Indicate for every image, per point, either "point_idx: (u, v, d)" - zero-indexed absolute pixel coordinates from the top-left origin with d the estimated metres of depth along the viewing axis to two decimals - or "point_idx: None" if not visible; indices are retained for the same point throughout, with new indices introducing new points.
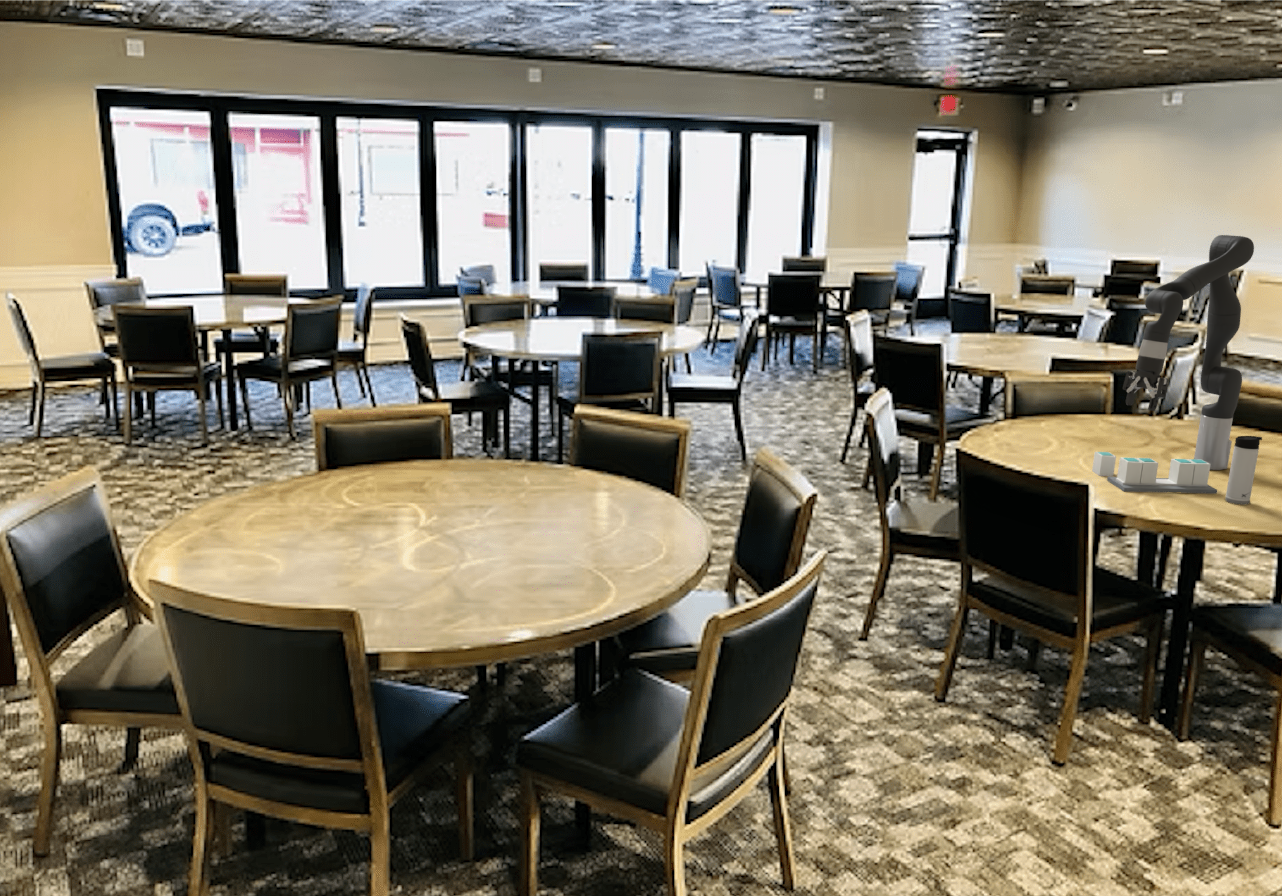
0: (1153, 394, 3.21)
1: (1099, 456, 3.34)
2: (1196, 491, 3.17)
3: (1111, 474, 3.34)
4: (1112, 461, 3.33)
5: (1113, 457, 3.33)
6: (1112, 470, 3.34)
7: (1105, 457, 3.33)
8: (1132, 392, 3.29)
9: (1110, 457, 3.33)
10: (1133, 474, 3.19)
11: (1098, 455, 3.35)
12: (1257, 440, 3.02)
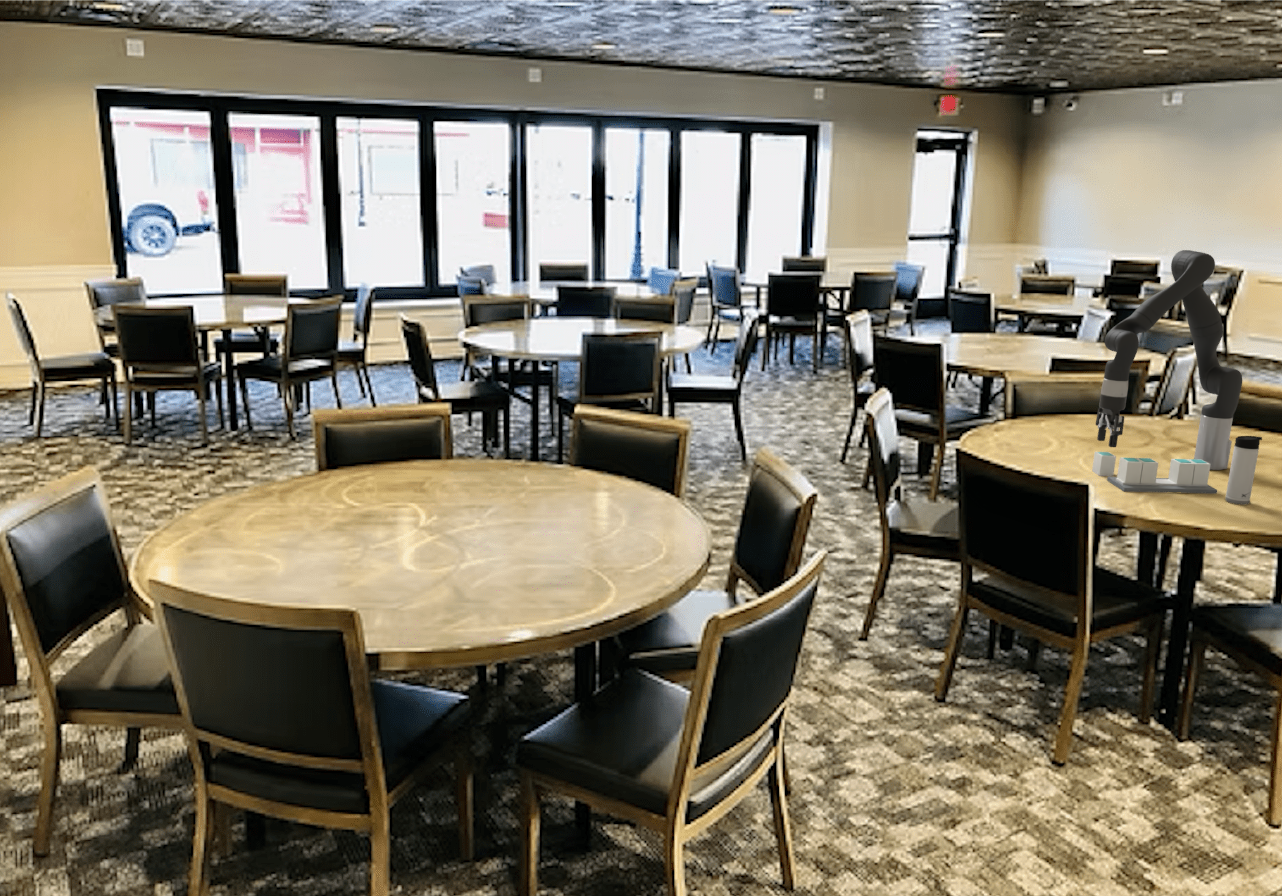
0: (1111, 431, 3.28)
1: (1099, 456, 3.34)
2: (1196, 491, 3.17)
3: (1111, 474, 3.34)
4: (1112, 461, 3.33)
5: (1113, 457, 3.33)
6: (1112, 470, 3.34)
7: (1105, 457, 3.33)
8: (1103, 428, 3.37)
9: (1110, 457, 3.33)
10: (1133, 474, 3.19)
11: (1098, 455, 3.35)
12: (1257, 440, 3.02)
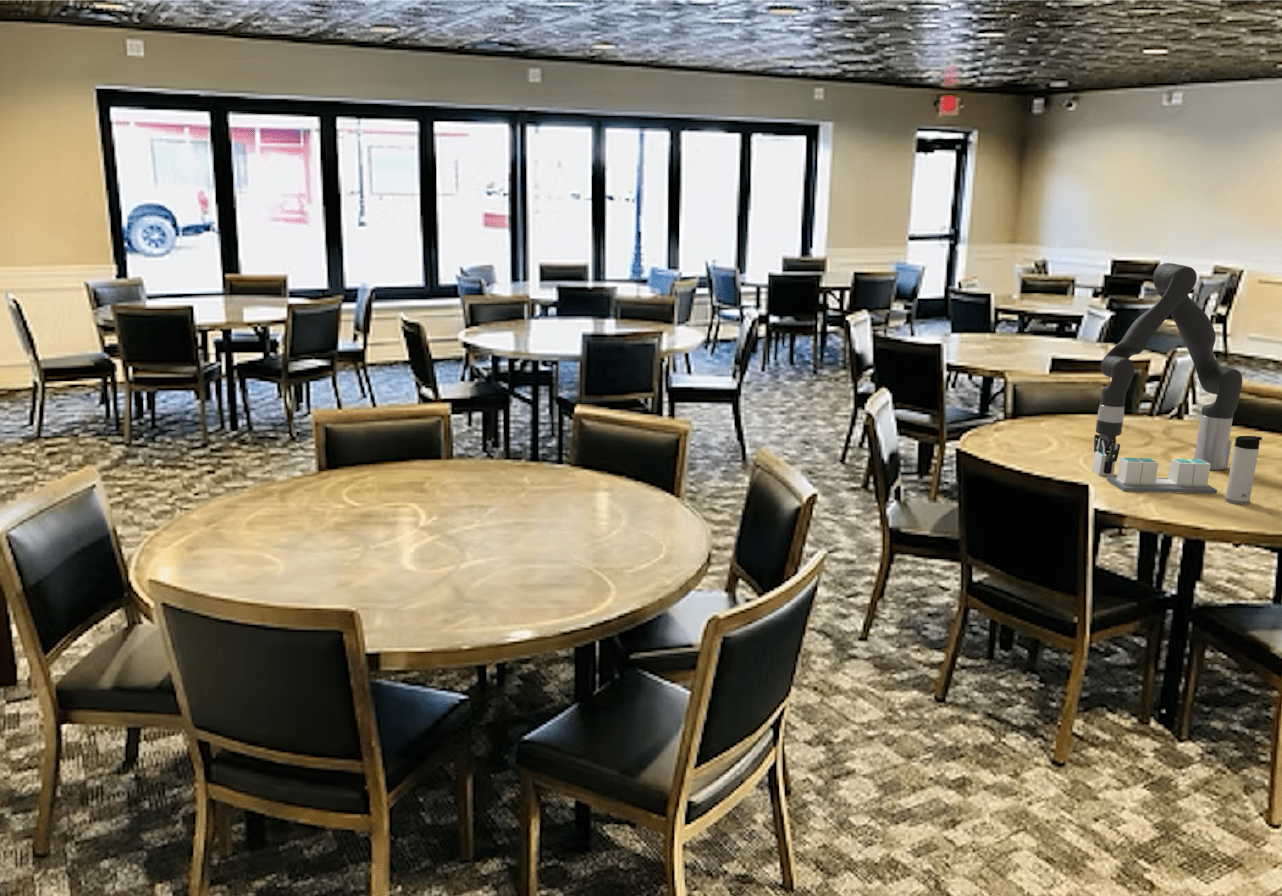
0: (1106, 458, 3.32)
1: (1099, 456, 3.34)
2: (1196, 491, 3.17)
3: (1111, 474, 3.34)
4: None
5: None
6: (1112, 470, 3.33)
7: None
8: None
9: None
10: (1133, 474, 3.19)
11: (1098, 455, 3.35)
12: (1257, 440, 3.02)
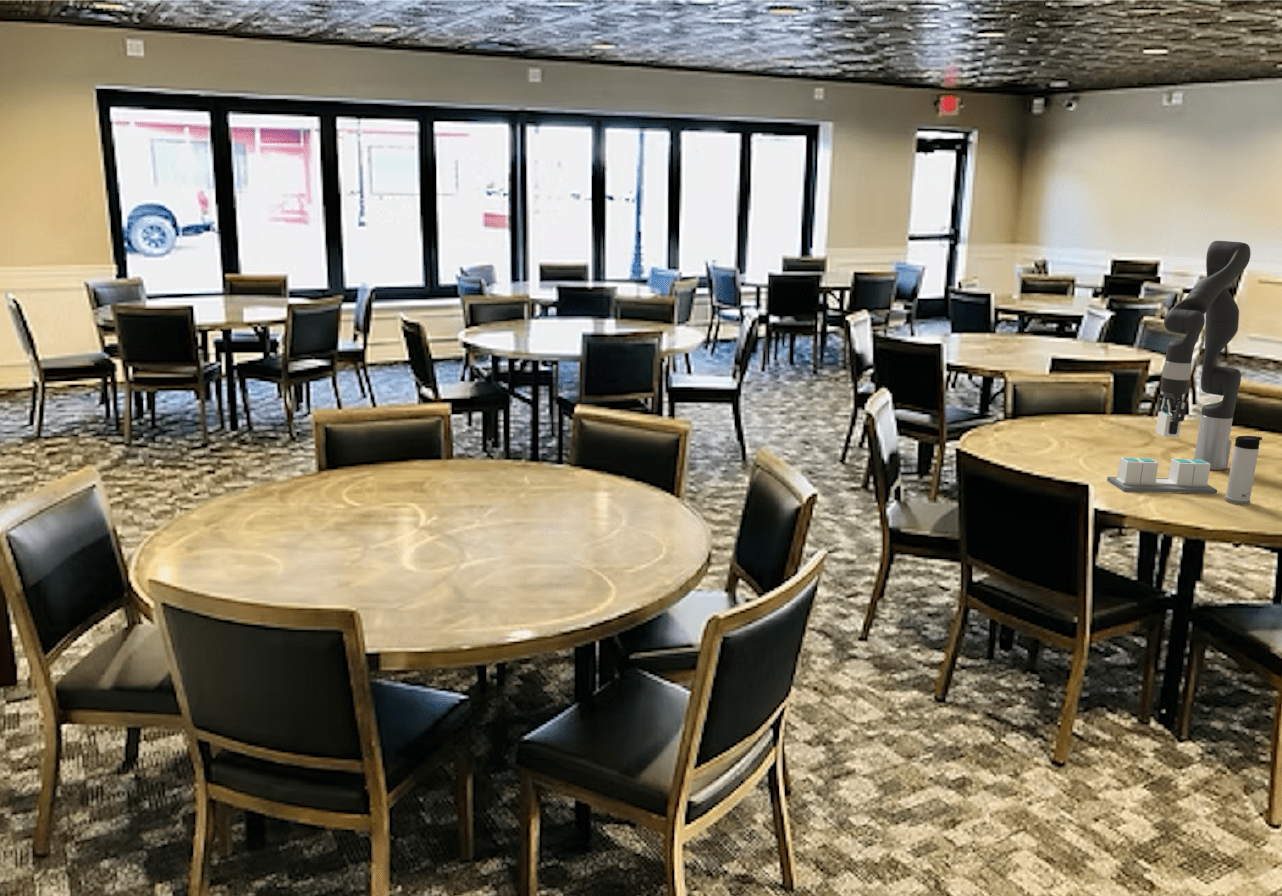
0: (1171, 418, 3.14)
1: (1164, 416, 3.17)
2: (1196, 491, 3.17)
3: (1176, 435, 3.17)
4: None
5: None
6: (1178, 430, 3.16)
7: None
8: None
9: None
10: (1133, 474, 3.19)
11: (1162, 415, 3.18)
12: (1257, 440, 3.02)
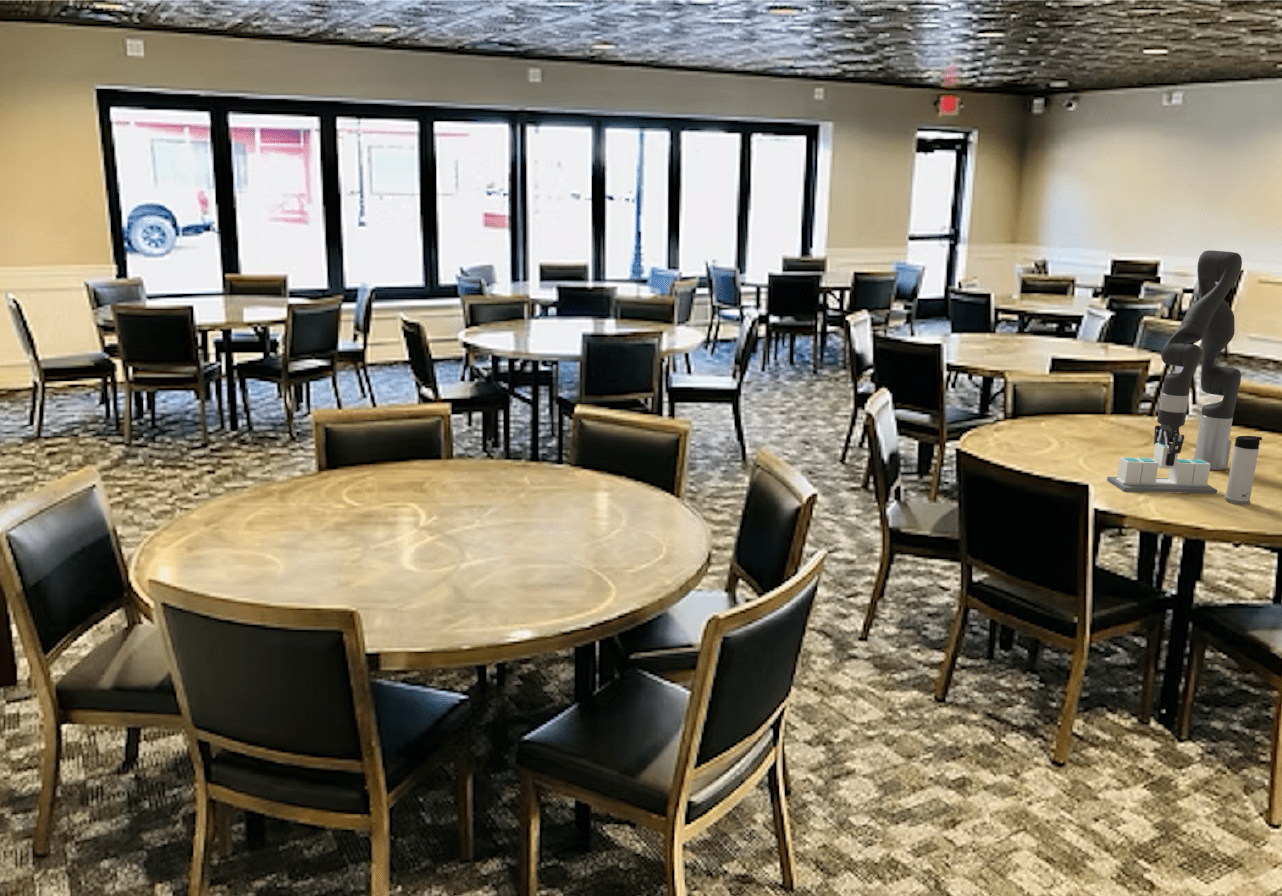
0: (1168, 450, 3.16)
1: (1161, 447, 3.19)
2: (1196, 491, 3.17)
3: (1173, 466, 3.19)
4: None
5: None
6: (1174, 462, 3.18)
7: None
8: None
9: None
10: (1133, 474, 3.19)
11: (1159, 446, 3.20)
12: (1257, 440, 3.02)
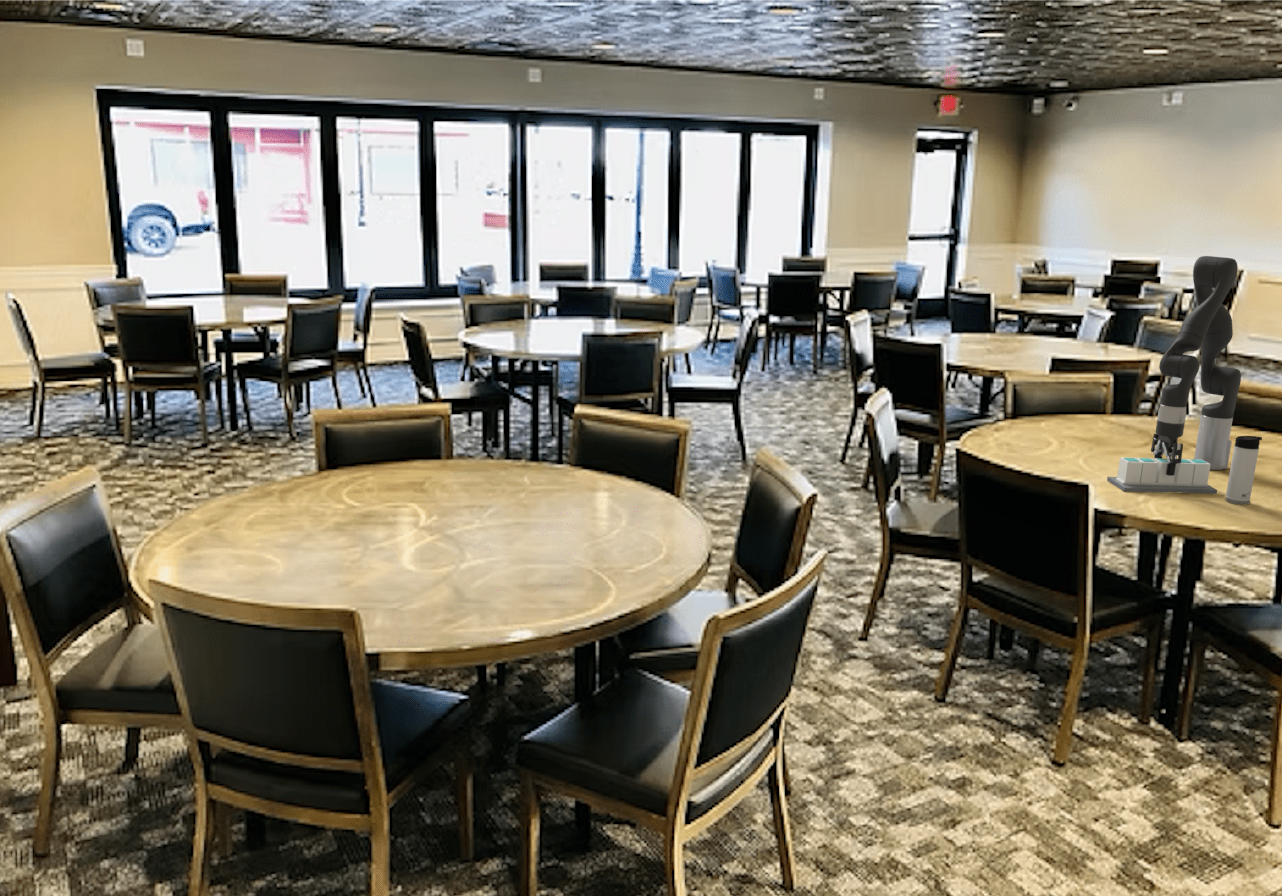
0: (1169, 459, 3.16)
1: (1158, 463, 3.20)
2: (1196, 491, 3.17)
3: (1171, 482, 3.20)
4: None
5: None
6: (1172, 477, 3.20)
7: (1165, 464, 3.19)
8: (1159, 455, 3.25)
9: None
10: (1133, 474, 3.19)
11: None
12: (1257, 440, 3.02)
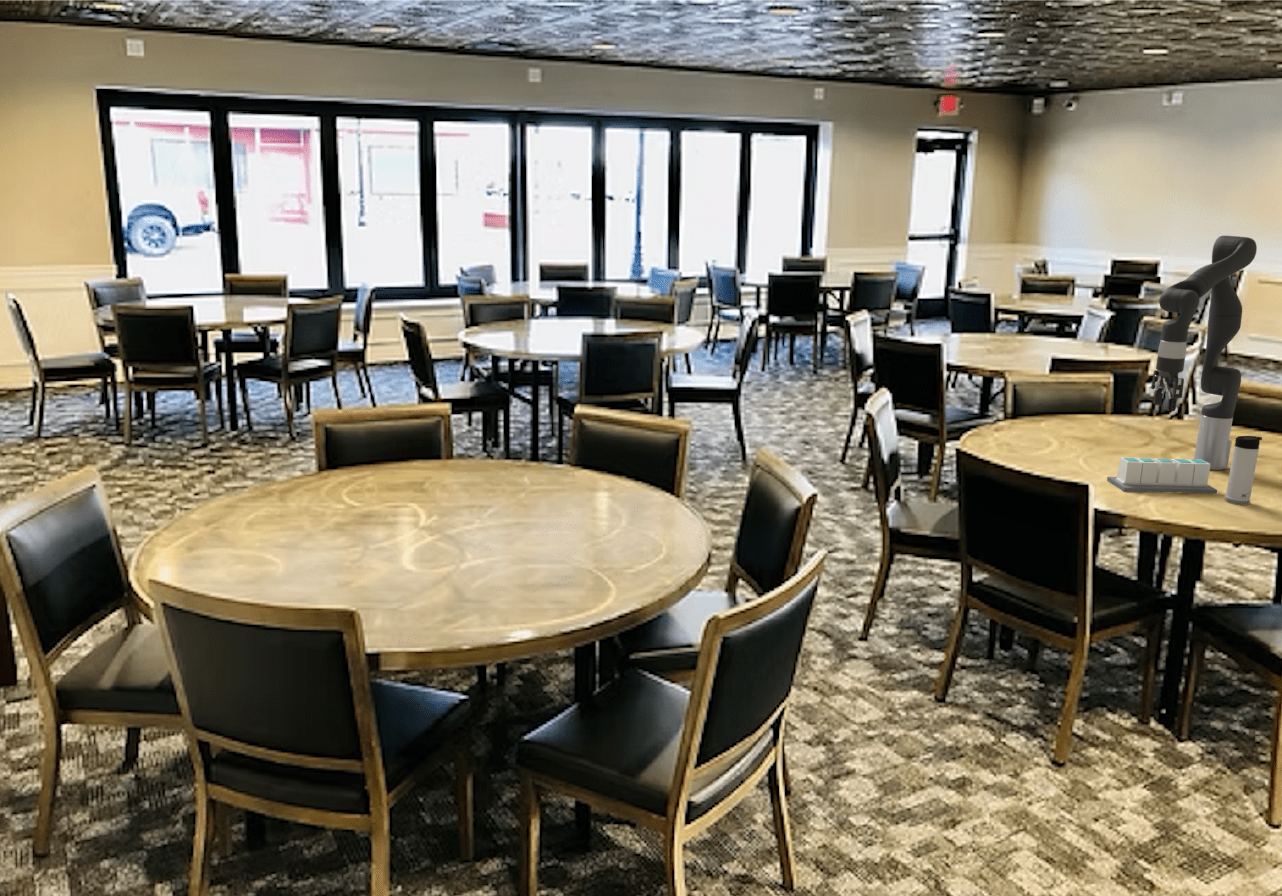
0: (1170, 395, 3.17)
1: (1158, 463, 3.20)
2: (1196, 491, 3.17)
3: (1171, 482, 3.20)
4: (1172, 468, 3.19)
5: (1173, 464, 3.19)
6: (1172, 477, 3.20)
7: (1165, 464, 3.19)
8: (1159, 391, 3.26)
9: (1170, 464, 3.19)
10: (1133, 474, 3.19)
11: None
12: (1257, 440, 3.02)
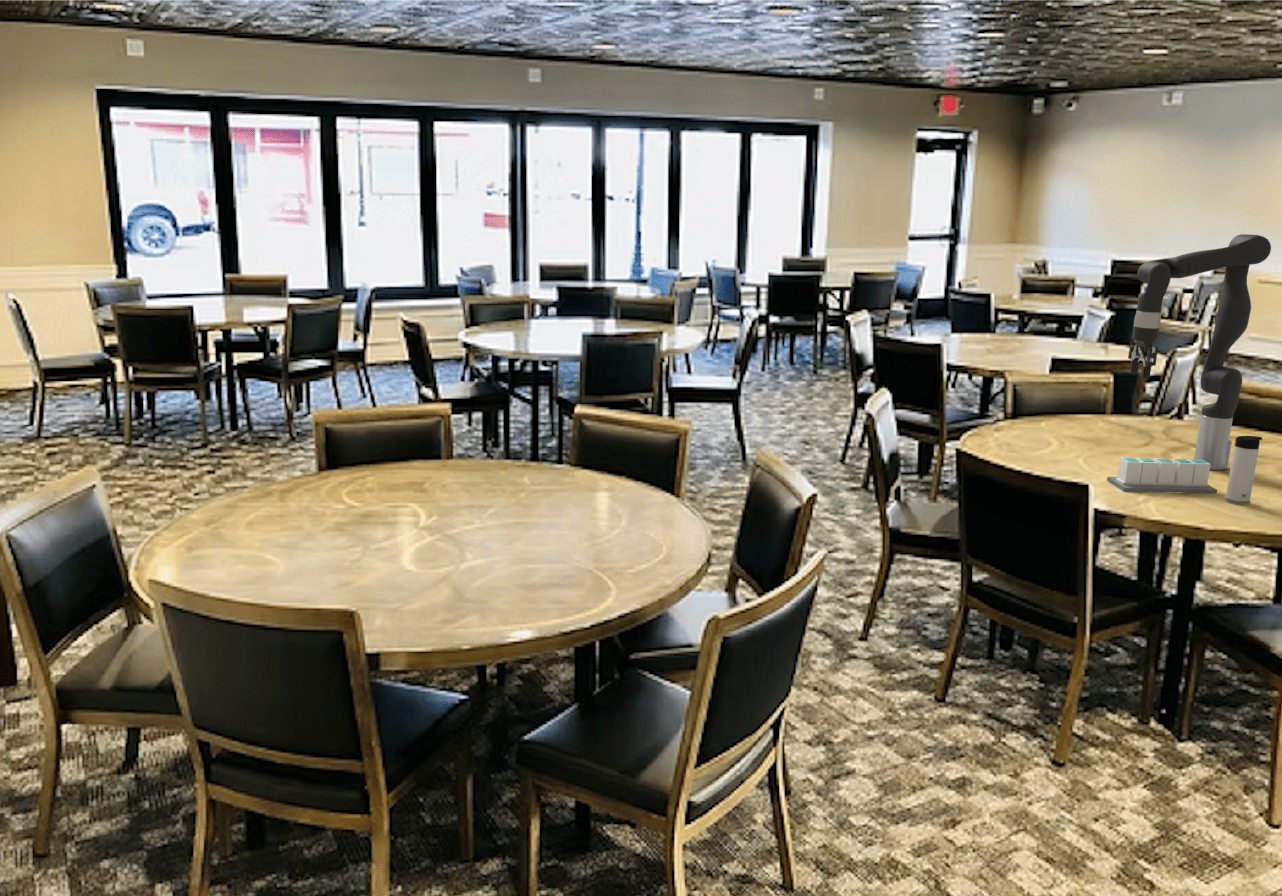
0: (1144, 363, 3.33)
1: (1158, 463, 3.20)
2: (1196, 491, 3.17)
3: (1171, 482, 3.20)
4: (1172, 468, 3.19)
5: (1173, 464, 3.19)
6: (1172, 477, 3.20)
7: (1165, 464, 3.19)
8: (1135, 361, 3.42)
9: (1170, 464, 3.19)
10: (1133, 474, 3.19)
11: None
12: (1257, 440, 3.02)
